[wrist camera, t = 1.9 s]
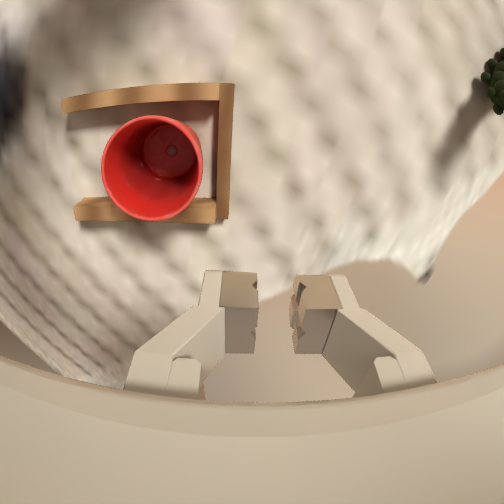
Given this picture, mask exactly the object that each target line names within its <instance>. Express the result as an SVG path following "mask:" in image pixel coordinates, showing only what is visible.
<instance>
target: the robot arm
mask: <svg viewBox="0 0 504 504" xmlns="http://www.w3.org/2000/svg"><path fill="white" fill-rule="evenodd" d="M293 288H294V293H295V294H294V295H293V296H292V297H291V301H290V308H289V320H290V326H291V327H292V328H293V329H294V330H293V335H292V340H293V346H294V352H295V354H322V356H323V357H324V358H325V359H326V360H327V361H328V362H329V363H330V364H331V366H332V367H333V368H334V369H335V370H336V371H337V372H338V374H339V375H340V376H341V377H342V378H343V379H344V380H345V381H346V383H347V384H348V385H349V386H350V387H351V388H352V389H353V390H354V391H355V394H354V395H353V397H352V398H345V399H335V400H322V401H306V402H279V403H278V402H277V403H253V402H252V403H250V402H223V401H222V402H221V401H206V400H205V392H204V384H203V381H204V380H205V379H206V377H207V376H208V375H209V374H210V373H211V371H212V370H213V369H214V367H215V366H216V365H217V364H218V363H219V361H220V360H221V359H222V358H223V356H224V355H225V353H254V348H255V339H256V337H255V328H256V327H257V319H258V309H259V307H258V290H257V273H250V272H234V271H218V270H206V271H205V273H204V278H203V283H202V288H201V293H200V298H199V304H198V306H192V307H191V308H189V309H188V310H187V311H186V312H184V313H183V314H182V315H181V316H179V317H178V318H177V319H175V320H174V321H173V322H172V323H170V324H169V325H168V326H167V327H165V328H164V329H163V330H162V331H160V332H159V333H158V334H156V335H155V336H154V337H153V338H151V339H150V340H149V341H148V342H146V343H145V344H144V345H143V346H141V347H140V348H139V349H137V350H136V351H135V353H134V357H133V360H132V363H131V366H130V369H129V372H128V375H127V379H126V382H125V386H124V389H123V390H120V389H115V388H110V387H105V386H101V385H96V384H92V383H87V382H83V381H79V380H75V379H71V378H67V377H64V376H60V375H56V374H53V373H50V372H46V371H43V370H40V369H37V368H34V367H31V366H27V365H25V364H22V363H19V362H16V361H13V360H10V359H8V358H5V357H3V356H0V504H504V363H503V364H500V365H497V366H494V367H492V368H489V369H486V370H482V371H479V372H476V373H473V374H469V375H466V376H462V377H458V378H455V379H451V380H447V381H443V382H439V383H437V382H436V380H435V377H434V375H433V373H432V371H431V369H430V366H429V364H428V362H427V360H426V358H425V356H424V354H423V352H422V351H421V350H420V349H418V348H417V347H416V346H414V345H413V344H412V343H410V342H409V341H407V340H406V339H405V338H404V337H402V336H401V335H399V334H398V333H397V332H395V331H394V330H393V329H391V328H390V327H388V326H387V325H386V324H384V323H383V322H382V321H380V320H379V319H377V318H376V317H375V316H373V315H372V314H370V313H369V312H368V311H366V310H365V309H360V308H359V306H358V303H357V301H356V299H355V297H354V294H353V292H352V290H351V288H350V286H349V283H348V281H347V279H346V277H345V276H344V275H296V276H295V279H294V283H293Z"/></svg>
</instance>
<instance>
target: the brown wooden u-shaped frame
mask: <svg viewBox="0 0 504 504" xmlns="http://www.w3.org/2000/svg"><path fill="white" fill-rule="evenodd" d="M234 86H235V84H231V83H179V84H162V85H149V86H138V87H129V88H121V89H114V90H107V91H100V92H94V93H89V94H83V95H78V96H73V97H69V98H64V99H62V114H64V113H70V112H75V111H81V110H87V109H93V108H100V107H107V106H115V105H124V104H134V103H146V102H160V101H183V100H220V102H219V125H218V155H217V198H194V199H193V200H192V202H191V203H190V204H189V205H188V206H187V207H186V208H185V209H184V210H183V211H182V212H180V213H179V214H177V215H176V216H173V217H171V218H169V219H165V220H160V221H146V220H141V219H137V218H135V217H132V216H130V215H128V214H127V213H125V212H124V211H122V210H121V209H120V208H119V207H118V206H117V205H116V204H115V203H114V202H113V201H112V200H111V198H110V197H97V198H84V199H82V200H81V201H80V202H79V203H78V204H77V205H75V206H74V207H73V209H74V215H75V219H76V221H143V222H180V223H208V224H215V222H216V219H228V215H229V192H230V166H231V143H232V122H233V104H234Z"/></svg>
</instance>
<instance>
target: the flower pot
mask: <svg viewBox="0 0 504 504" xmlns="http://www.w3.org/2000/svg"><path fill="white" fill-rule="evenodd" d="M101 173H102V180H103V184H104V186H105V189H106V191H107V193H108V195H109V197H110V198H111V200H112V201H113V202H114V203H115V204H116V205H117V206H118V207H119V208H120V209H121V210H122V211H124V212H125V213H127V214H128V215H130V216H132V217H135V218H137V219H141V220H146V221H160V220H165V219H169V218H171V217H173V216H176V215H177V214H179V213H180V212H182V211H183V210H184V209H185V208H186V207H187V206H188V205H189V204H190V203H191V202H192V200H193V199H194V197H195V196H196V194H197V192H198V189H199V187H200V184H201V180H202V174H203V157H202V151H201V145H200V141H199V139H198V136H197V135H196V133H195V132H194V131H193V130H192V129H191V128H190V127H189V126H188V125H186V124H184V123H182V122H180V121H178V120H175V119H172V118H169V117H165V116H158V115H147V116H142V117H138V118H135V119H132V120H130V121H128V122H127V123H125V124H124V125H122V126H121V127H120V128H119V129H117V130H116V131H115V133H114V134H113V135H112V136H111V138H110V139H109V141H108V142H107V144H106V147H105V149H104V152H103V156H102V162H101Z"/></svg>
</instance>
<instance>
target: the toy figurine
mask: <svg viewBox="0 0 504 504" xmlns="http://www.w3.org/2000/svg"><path fill="white" fill-rule="evenodd" d="M500 55H501V57H502V58H503V59H504V48H502V49H501V51H500ZM488 66H489V67H490V69H491V70H494V71H493V74H492V76H491V75H490V73H488V72H483V73H482V74H481V79H482V81H483V82H484V83H485V84H487V85H490V87H488V88H487V89H486V94H487V96H488V97H489V98H491V100H492V103H493V104H494V106H493V110H494V112H495V113H496V114H497V115H501V114H502V113H503V110H504V61H501V62H499V63H498V61H497V60H495V59H489V60H488Z"/></svg>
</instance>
